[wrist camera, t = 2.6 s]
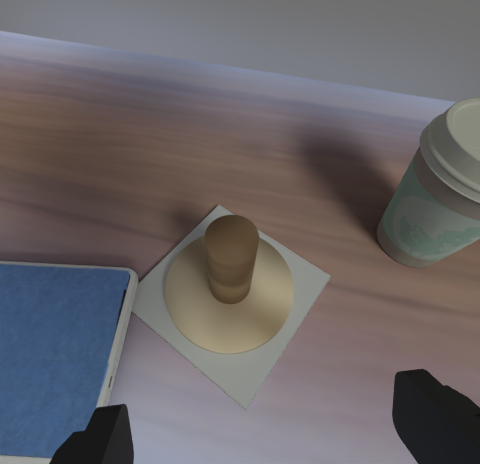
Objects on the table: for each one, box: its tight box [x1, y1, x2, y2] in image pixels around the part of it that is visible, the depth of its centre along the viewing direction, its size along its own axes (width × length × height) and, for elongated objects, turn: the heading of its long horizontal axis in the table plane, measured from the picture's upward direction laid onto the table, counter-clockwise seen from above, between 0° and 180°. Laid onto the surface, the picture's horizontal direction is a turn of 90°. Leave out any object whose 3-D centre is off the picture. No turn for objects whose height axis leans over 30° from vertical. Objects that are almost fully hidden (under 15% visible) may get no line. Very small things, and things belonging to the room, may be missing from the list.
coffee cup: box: [377, 98, 480, 268], centre depth 23 cm, size 9×9×12 cm
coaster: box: [132, 205, 331, 410], centre depth 24 cm, size 12×12×1 cm
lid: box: [165, 215, 294, 354], centre depth 21 cm, size 10×10×8 cm
